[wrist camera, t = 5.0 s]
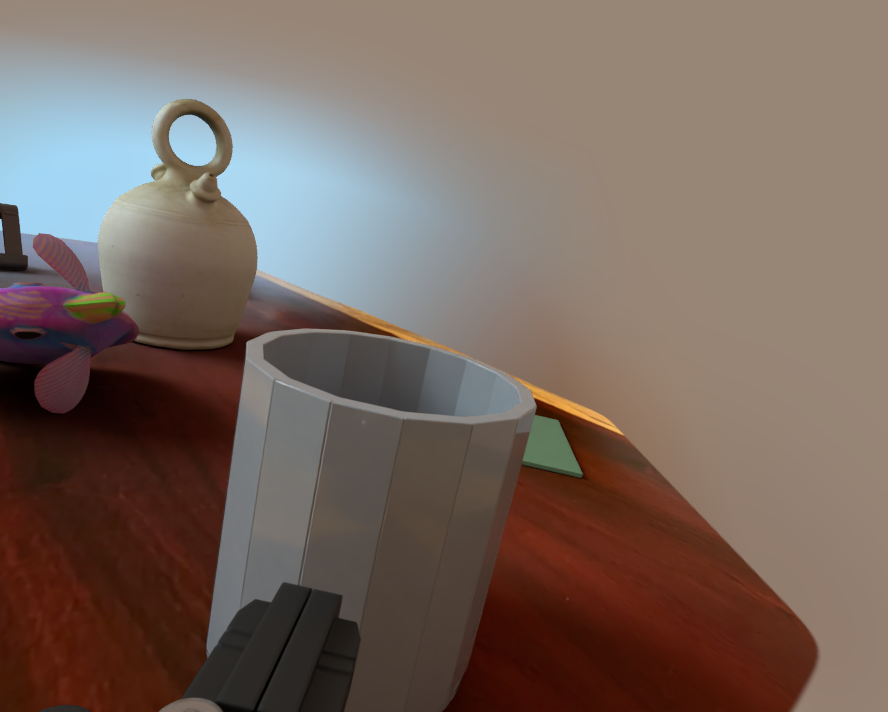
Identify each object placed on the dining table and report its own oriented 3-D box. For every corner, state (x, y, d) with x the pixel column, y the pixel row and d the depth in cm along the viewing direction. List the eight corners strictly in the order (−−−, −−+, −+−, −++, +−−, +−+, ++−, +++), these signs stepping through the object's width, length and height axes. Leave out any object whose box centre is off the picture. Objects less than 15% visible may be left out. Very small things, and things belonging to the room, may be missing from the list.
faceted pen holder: (467, 581, 28) (522, 365, 26) (462, 783, 18) (553, 451, 15) (268, 536, 28) (302, 316, 26) (145, 709, 18) (183, 368, 15)
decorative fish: (180, 219, 37) (-137, 161, 27) (189, 397, 36) (-145, 410, 25) (108, 291, 51) (-121, 271, 41) (112, 422, 49) (-126, 437, 39)
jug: (104, 311, 64) (121, 88, 59) (242, 327, 71) (268, 128, 65) (78, 345, 51) (96, 60, 45) (251, 361, 57) (285, 114, 52)
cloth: (557, 423, 59) (558, 420, 59) (581, 478, 45) (582, 474, 45) (362, 379, 59) (362, 376, 59) (328, 421, 46) (328, 416, 46)
